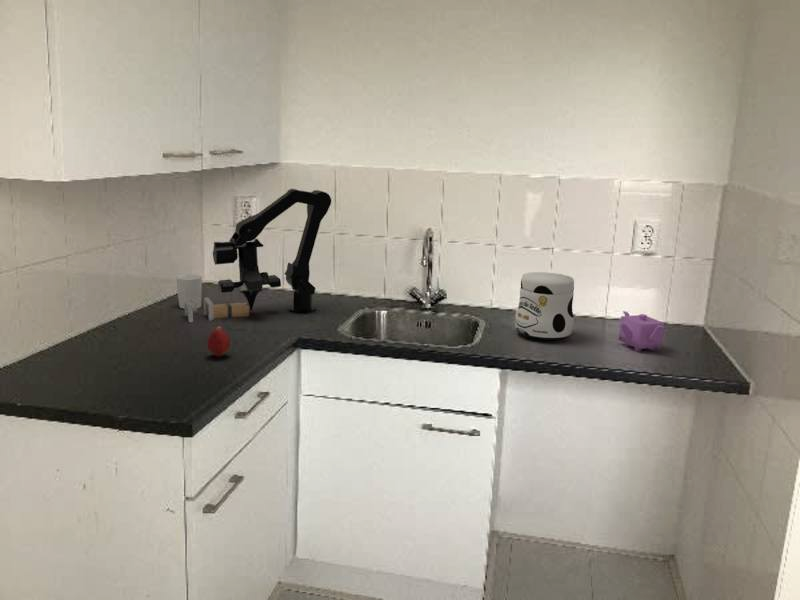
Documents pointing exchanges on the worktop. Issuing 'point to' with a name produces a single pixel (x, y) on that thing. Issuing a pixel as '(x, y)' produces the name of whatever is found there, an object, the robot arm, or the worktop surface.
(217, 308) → the taped cardboard box
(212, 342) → the onion
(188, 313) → the gray bracket rail
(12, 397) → the worktop surface
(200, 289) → the white cup
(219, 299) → the worktop surface
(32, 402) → the worktop surface
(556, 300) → the milk container
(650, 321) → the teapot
